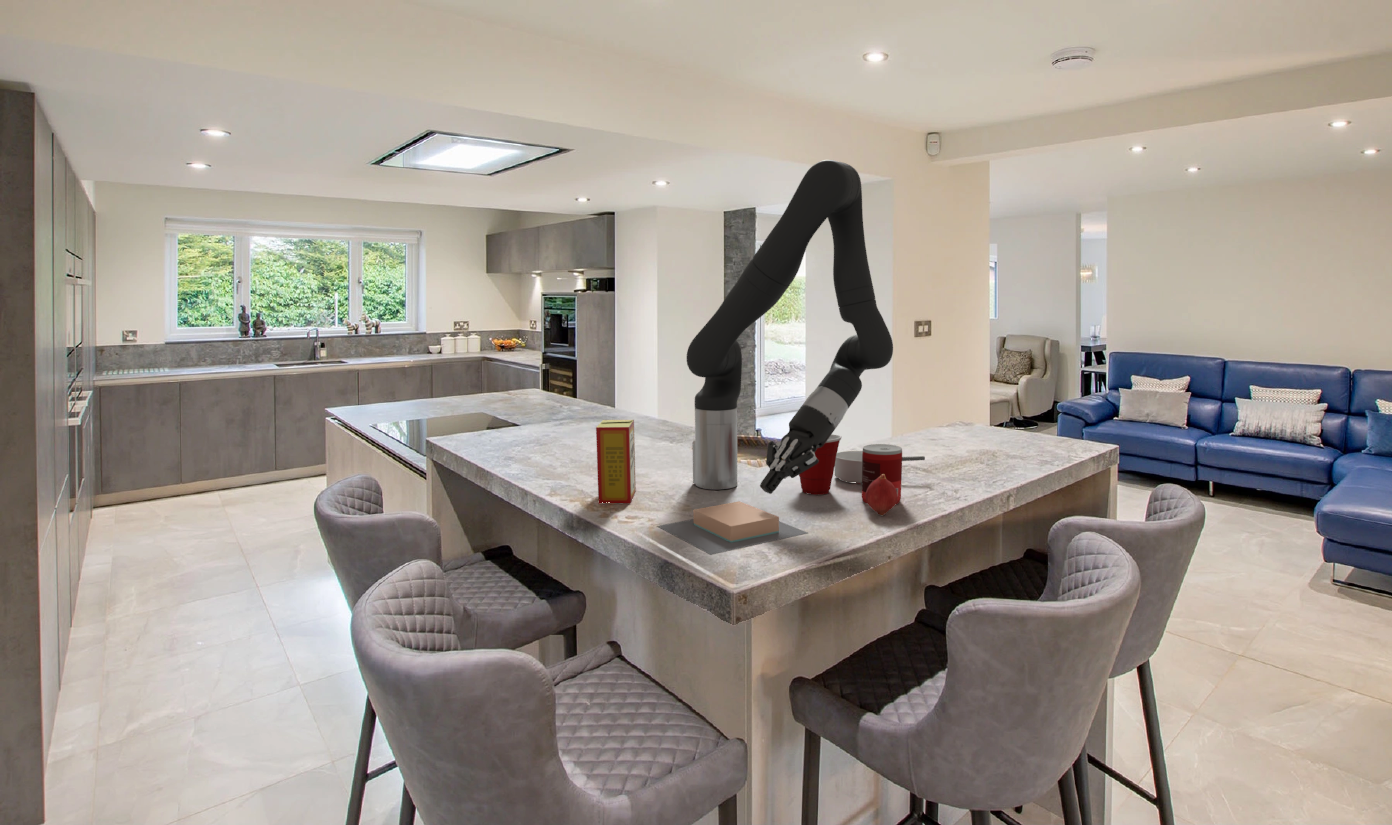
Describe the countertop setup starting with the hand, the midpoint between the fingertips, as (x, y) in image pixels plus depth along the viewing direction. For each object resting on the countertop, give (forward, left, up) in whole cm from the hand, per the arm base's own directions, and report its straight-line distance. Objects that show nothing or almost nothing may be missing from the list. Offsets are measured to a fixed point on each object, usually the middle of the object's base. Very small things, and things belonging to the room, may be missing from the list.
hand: (765, 490), depth 135 cm
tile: (0, -2, -5) cm, 5 cm away
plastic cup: (-10, +25, -7) cm, 27 cm away
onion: (+10, +21, -7) cm, 24 cm away
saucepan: (-8, +43, -7) cm, 44 cm away
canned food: (+4, +29, -7) cm, 30 cm away
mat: (-1, -7, -6) cm, 10 cm away
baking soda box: (-34, -9, -7) cm, 36 cm away
